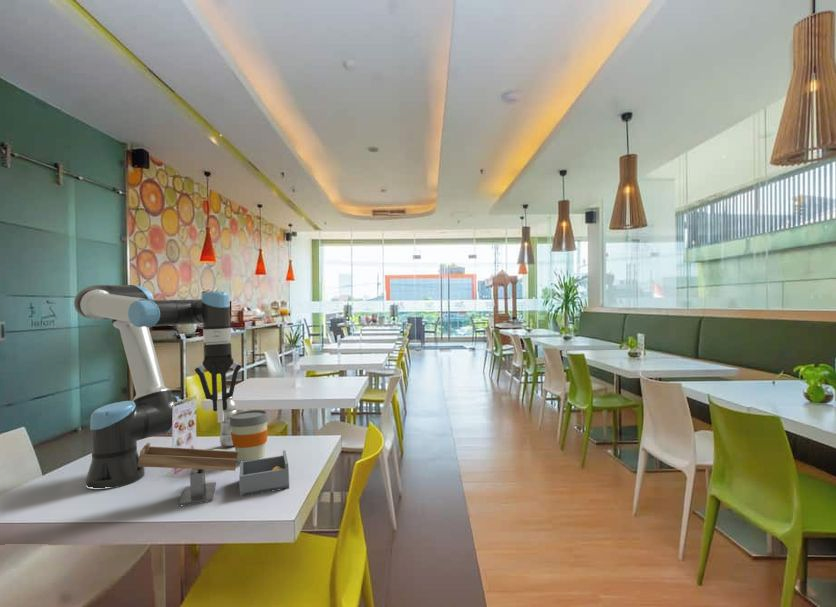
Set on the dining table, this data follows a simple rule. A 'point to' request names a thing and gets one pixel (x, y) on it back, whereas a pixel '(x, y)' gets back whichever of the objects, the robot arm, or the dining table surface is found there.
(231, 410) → the plastic bottle
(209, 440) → the dining table surface
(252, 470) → the grey tray
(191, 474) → the stand
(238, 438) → the reusable coffee cup
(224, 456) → the chute
